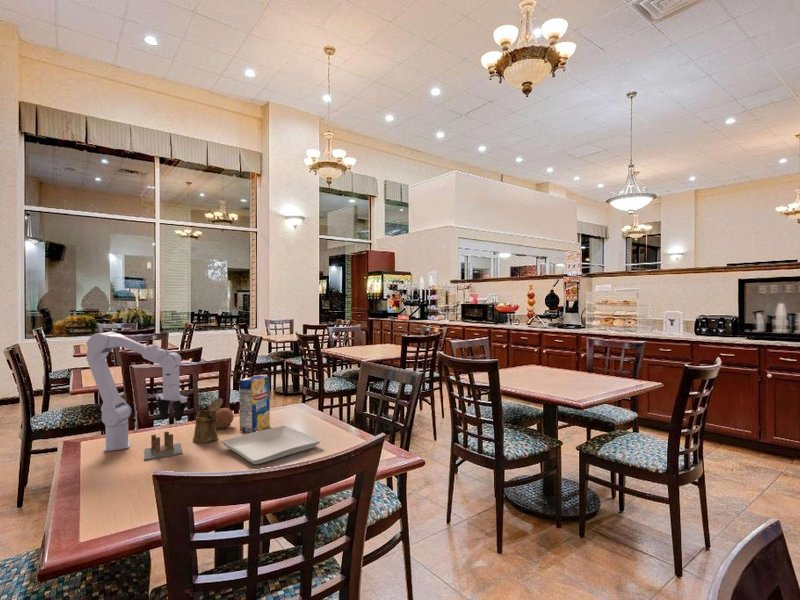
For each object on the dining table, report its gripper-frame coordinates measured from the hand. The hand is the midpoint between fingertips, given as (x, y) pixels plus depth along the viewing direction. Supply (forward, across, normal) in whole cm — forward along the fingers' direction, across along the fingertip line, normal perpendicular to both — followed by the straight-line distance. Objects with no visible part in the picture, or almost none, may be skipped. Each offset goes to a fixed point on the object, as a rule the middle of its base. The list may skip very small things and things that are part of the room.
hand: (171, 419), depth 165 cm
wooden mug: (+10, +9, +9) cm, 17 cm away
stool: (+9, +4, -7) cm, 12 cm away
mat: (+10, +4, -6) cm, 12 cm away
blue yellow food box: (+10, +16, +28) cm, 34 cm away
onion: (+10, +1, +24) cm, 26 cm away
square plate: (+10, +38, +12) cm, 41 cm away
